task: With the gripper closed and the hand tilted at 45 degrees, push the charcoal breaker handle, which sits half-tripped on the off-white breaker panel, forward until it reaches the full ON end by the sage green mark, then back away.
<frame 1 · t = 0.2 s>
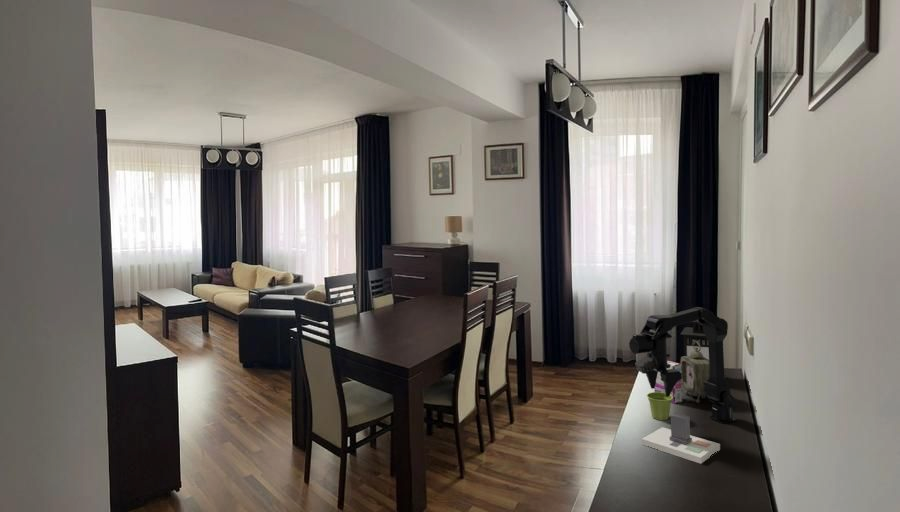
hand: (659, 392, 182), 14 cm above the table, tool pointing down, fingers open, 9 cm apart
lantern: (703, 380, 237), on the table
plant pot: (660, 418, 195), on the table
breaker panel: (680, 447, 169), on the table
candy bar box: (668, 399, 214), on the table
breaker handle: (680, 428, 169), point 6 cm above the table, slide at 2.5 cm
tabletop clock: (698, 399, 213), on the table
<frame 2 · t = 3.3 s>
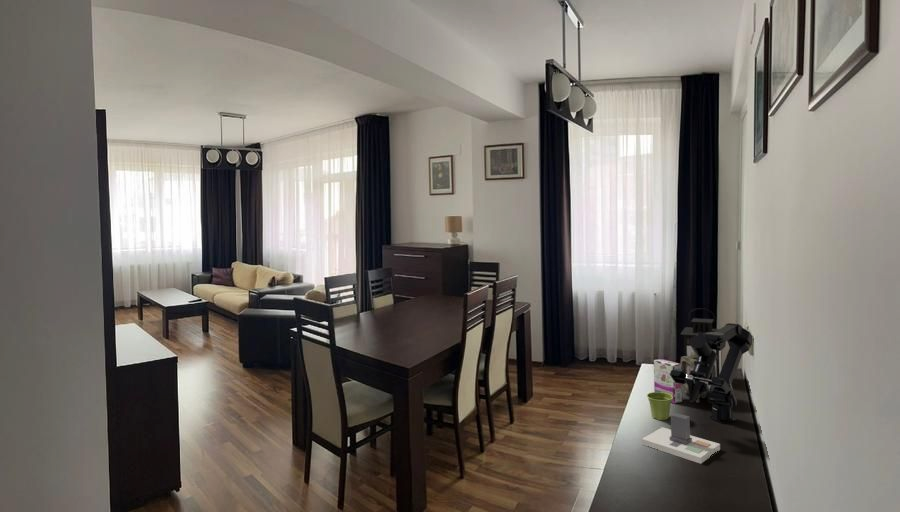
hand: (691, 401, 173), 14 cm above the table, tool tilted 45°, fingers closed
nothing on the table moved.
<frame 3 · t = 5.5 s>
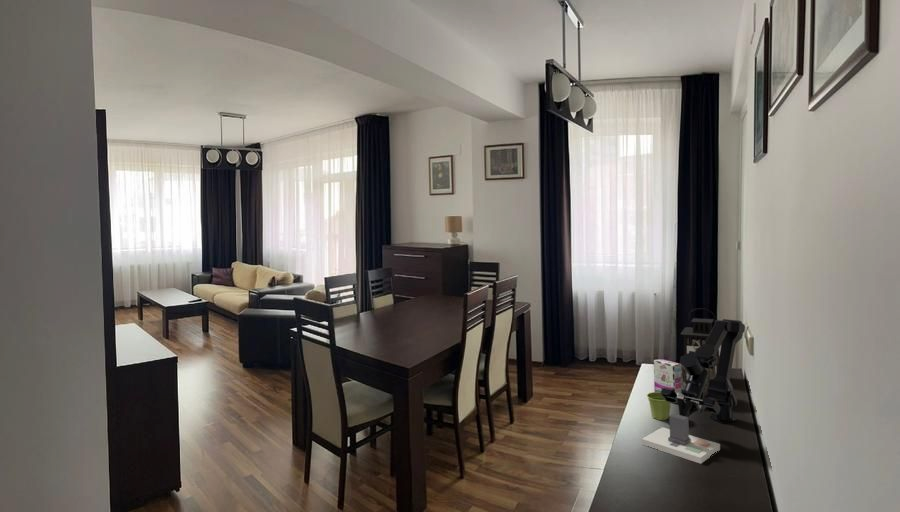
hand: (681, 421, 169), 8 cm above the table, tool tilted 45°, fingers closed, pressing on breaker handle
breaker handle: (679, 428, 168), point 6 cm above the table, slide at 3.4 cm, touching gripper
everything else where it was.
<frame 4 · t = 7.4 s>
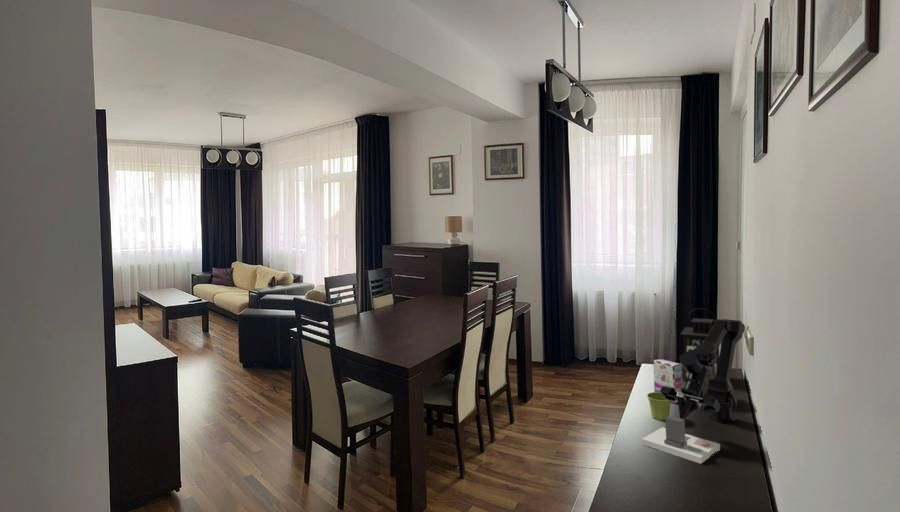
hand: (681, 420, 169), 9 cm above the table, tool tilted 45°, fingers closed
breaker handle: (675, 431, 166), point 6 cm above the table, slide at 6.1 cm
everything else where it was.
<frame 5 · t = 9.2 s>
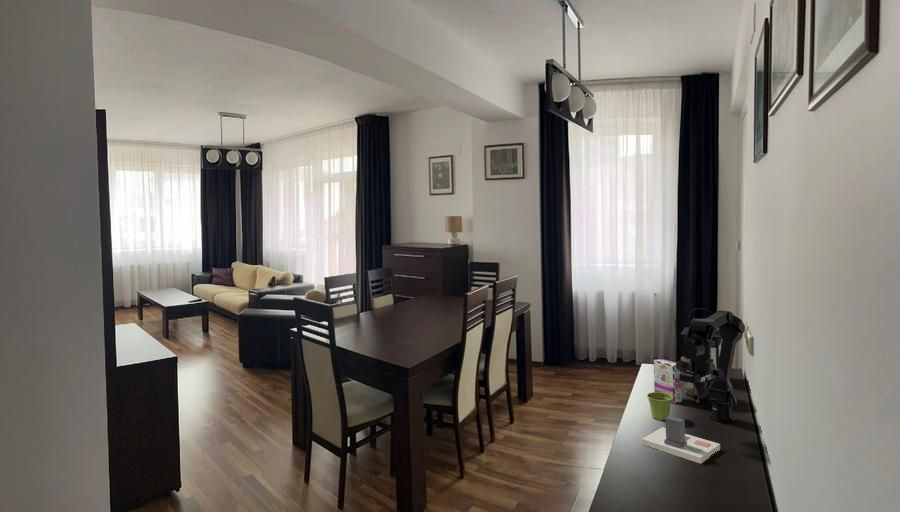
hand: (701, 398, 178), 13 cm above the table, tool pointing down, fingers closed
nothing on the table moved.
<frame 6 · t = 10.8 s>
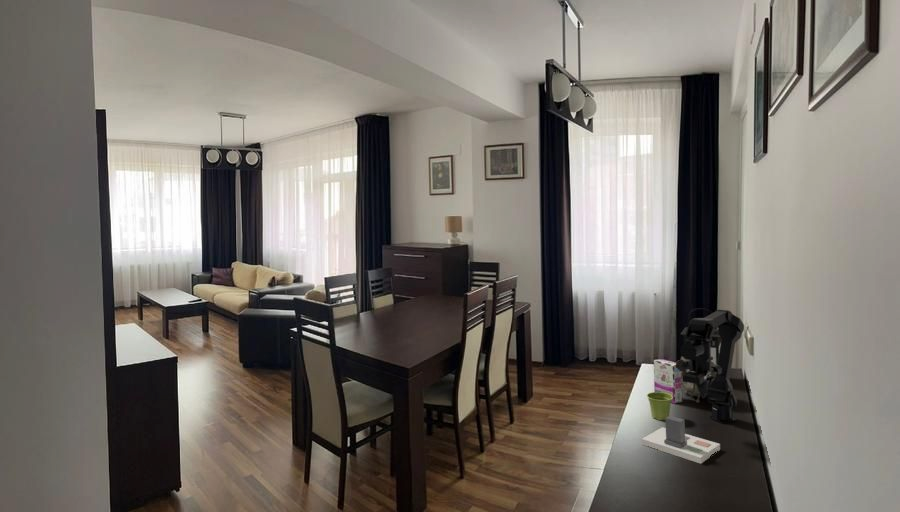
hand: (702, 396, 179), 13 cm above the table, tool pointing down, fingers closed
nothing on the table moved.
at the end: breaker handle slide at 6.1 cm; plant pot moved 0.2 cm from its start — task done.
